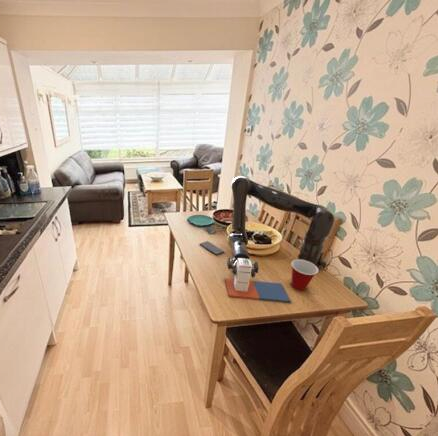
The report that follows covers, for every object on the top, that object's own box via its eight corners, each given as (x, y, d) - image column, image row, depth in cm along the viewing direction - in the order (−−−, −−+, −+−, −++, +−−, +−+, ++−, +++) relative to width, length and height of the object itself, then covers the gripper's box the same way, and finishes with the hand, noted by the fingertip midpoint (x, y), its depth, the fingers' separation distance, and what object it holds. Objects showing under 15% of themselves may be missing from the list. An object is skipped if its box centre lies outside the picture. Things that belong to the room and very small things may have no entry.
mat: (280, 285, 116) (281, 283, 115) (290, 302, 105) (290, 301, 104) (225, 280, 119) (225, 278, 119) (229, 296, 108) (229, 295, 108)
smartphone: (207, 241, 154) (224, 251, 142) (207, 242, 154) (224, 252, 142) (199, 243, 151) (216, 254, 139) (199, 244, 151) (216, 255, 139)
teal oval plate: (204, 215, 195) (204, 212, 194) (228, 230, 169) (228, 227, 168) (183, 219, 188) (183, 216, 187) (204, 235, 163) (205, 232, 162)
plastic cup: (286, 290, 112) (292, 269, 107) (284, 277, 121) (290, 257, 116) (313, 297, 108) (320, 275, 103) (309, 283, 117) (316, 262, 112)
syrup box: (247, 292, 110) (253, 266, 104) (234, 290, 111) (239, 264, 105) (245, 284, 115) (250, 258, 109) (233, 282, 116) (237, 257, 110)
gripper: (226, 247, 122) (228, 265, 107) (257, 250, 118) (262, 270, 104) (225, 259, 125) (226, 278, 110) (254, 263, 121) (259, 283, 107)
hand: (244, 274), depth 107 cm, fingers open, 7 cm apart
